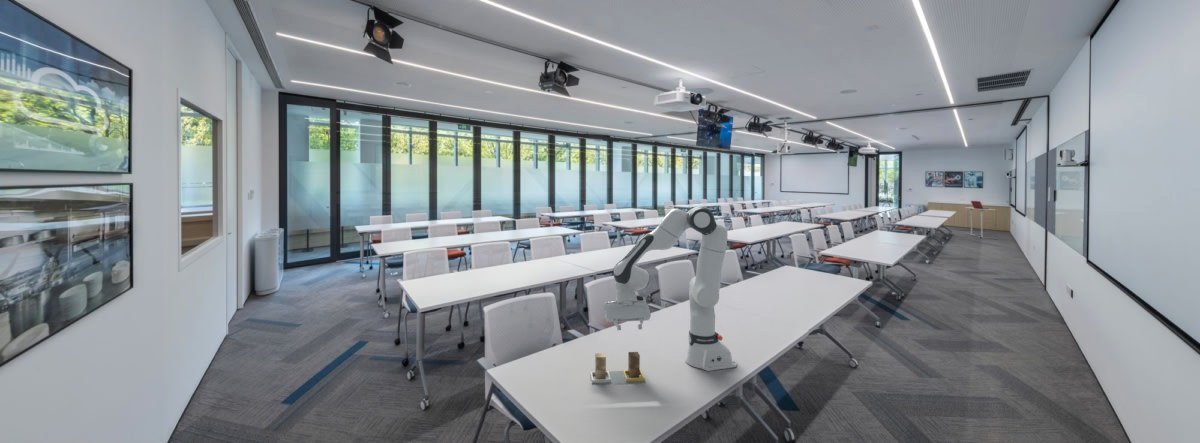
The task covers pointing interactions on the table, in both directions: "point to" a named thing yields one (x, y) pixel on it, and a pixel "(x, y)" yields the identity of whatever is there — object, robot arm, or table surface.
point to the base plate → (617, 378)
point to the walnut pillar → (633, 364)
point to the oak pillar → (600, 365)
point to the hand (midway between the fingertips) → (629, 329)
